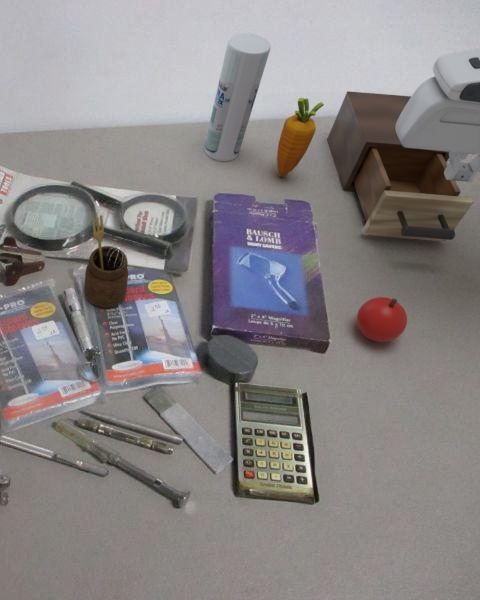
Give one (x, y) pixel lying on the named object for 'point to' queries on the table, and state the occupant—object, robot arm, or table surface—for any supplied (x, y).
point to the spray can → (236, 95)
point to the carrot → (296, 137)
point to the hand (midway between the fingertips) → (456, 178)
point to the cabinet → (365, 131)
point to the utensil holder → (105, 272)
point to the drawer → (408, 195)
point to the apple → (381, 319)
